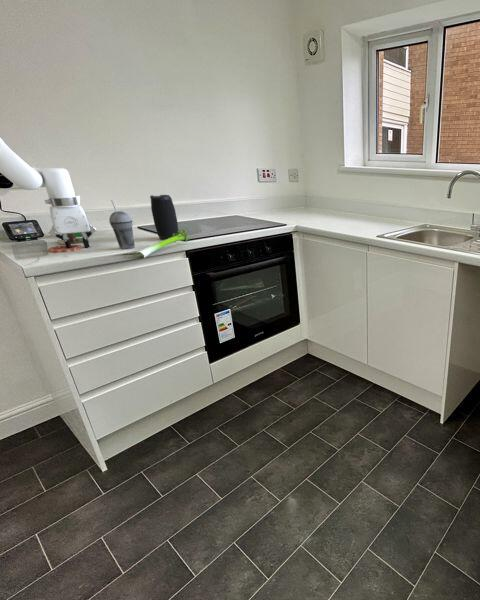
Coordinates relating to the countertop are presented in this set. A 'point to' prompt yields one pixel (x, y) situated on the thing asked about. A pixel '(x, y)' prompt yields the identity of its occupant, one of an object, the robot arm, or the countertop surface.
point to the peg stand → (71, 239)
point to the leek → (164, 243)
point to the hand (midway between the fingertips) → (78, 249)
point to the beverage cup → (122, 229)
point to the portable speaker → (164, 216)
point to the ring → (59, 250)
